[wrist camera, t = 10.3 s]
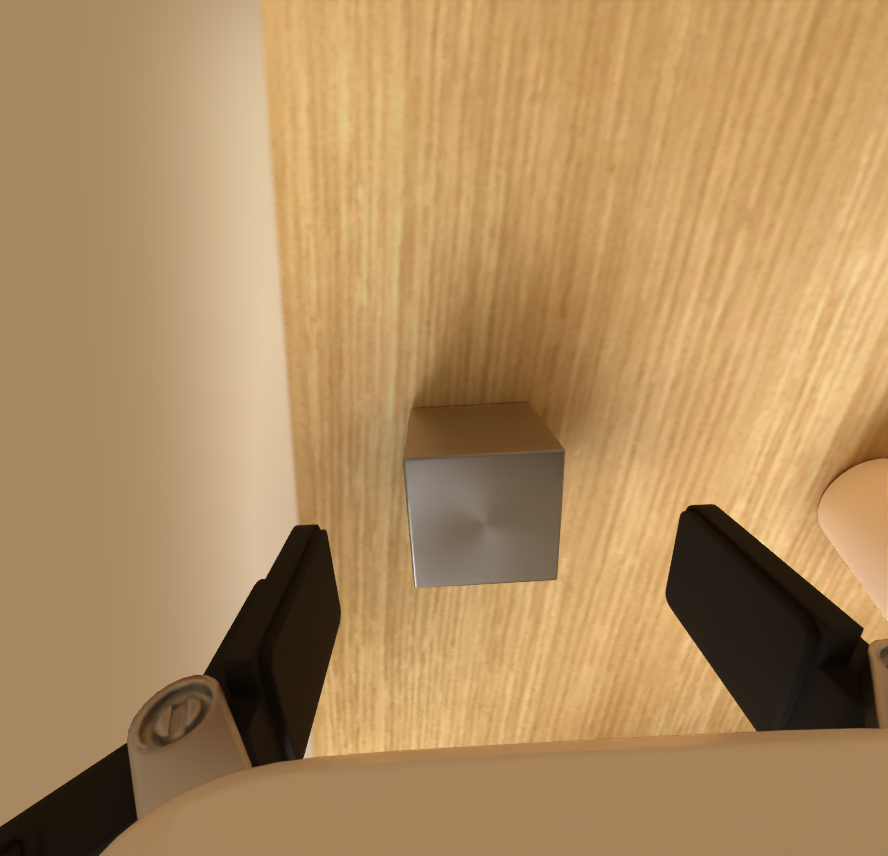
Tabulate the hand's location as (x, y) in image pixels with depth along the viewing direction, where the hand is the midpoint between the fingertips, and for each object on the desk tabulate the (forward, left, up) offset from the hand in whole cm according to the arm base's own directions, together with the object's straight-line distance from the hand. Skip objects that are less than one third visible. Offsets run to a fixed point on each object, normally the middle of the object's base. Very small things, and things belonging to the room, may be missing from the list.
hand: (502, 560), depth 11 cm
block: (0, 0, -7) cm, 7 cm away
